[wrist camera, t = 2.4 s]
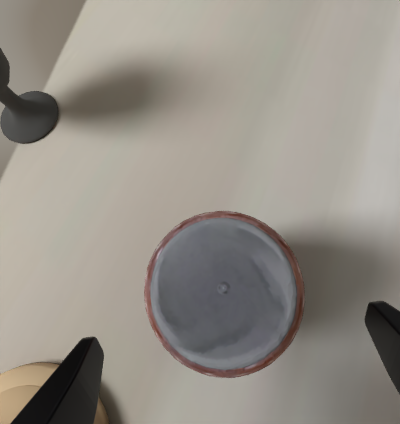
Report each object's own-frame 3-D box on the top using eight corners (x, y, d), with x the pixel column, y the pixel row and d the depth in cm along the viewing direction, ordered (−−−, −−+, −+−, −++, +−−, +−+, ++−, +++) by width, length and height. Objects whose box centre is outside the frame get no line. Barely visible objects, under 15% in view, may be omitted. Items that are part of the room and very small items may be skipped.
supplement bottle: (220, 225, 19) (219, 143, 8) (287, 285, 18) (391, 282, 7) (159, 288, 18) (70, 289, 8) (225, 357, 17) (232, 482, 6)
